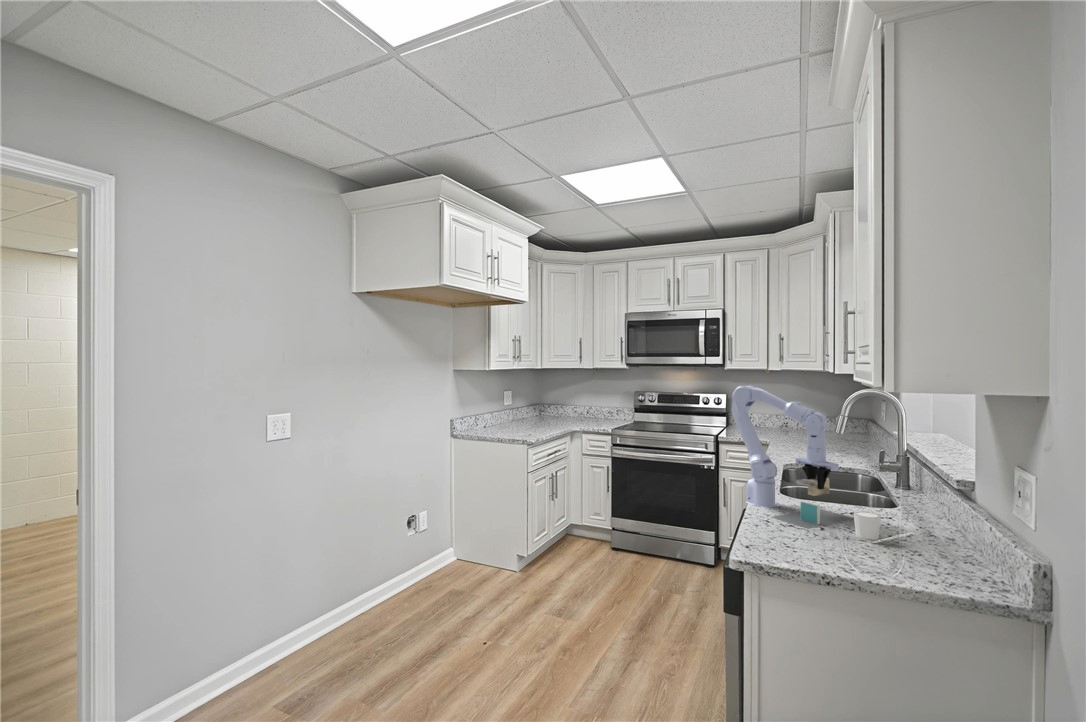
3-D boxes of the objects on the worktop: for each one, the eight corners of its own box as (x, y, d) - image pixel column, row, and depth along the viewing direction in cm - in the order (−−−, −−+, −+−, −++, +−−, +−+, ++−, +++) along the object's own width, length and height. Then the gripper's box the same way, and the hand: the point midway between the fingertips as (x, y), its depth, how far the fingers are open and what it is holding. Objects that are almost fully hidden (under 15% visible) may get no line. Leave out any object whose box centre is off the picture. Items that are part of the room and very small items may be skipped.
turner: (819, 490, 182) (819, 476, 182) (833, 493, 178) (832, 479, 178) (796, 495, 177) (796, 480, 177) (810, 498, 172) (809, 483, 173)
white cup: (886, 542, 150) (886, 517, 150) (862, 542, 150) (862, 517, 150) (871, 534, 157) (871, 511, 157) (848, 534, 157) (848, 511, 157)
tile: (800, 519, 170) (800, 501, 170) (803, 519, 171) (803, 500, 171) (817, 524, 165) (817, 505, 165) (820, 524, 165) (819, 505, 165)
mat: (770, 518, 173) (770, 516, 173) (817, 509, 184) (817, 508, 184) (808, 530, 161) (808, 528, 161) (857, 520, 171) (856, 518, 171)
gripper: (789, 446, 183) (790, 485, 183) (828, 451, 170) (829, 493, 170) (803, 444, 186) (803, 483, 186) (842, 450, 173) (842, 491, 173)
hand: (816, 488), depth 178 cm, fingers closed on turner, 2 cm apart
